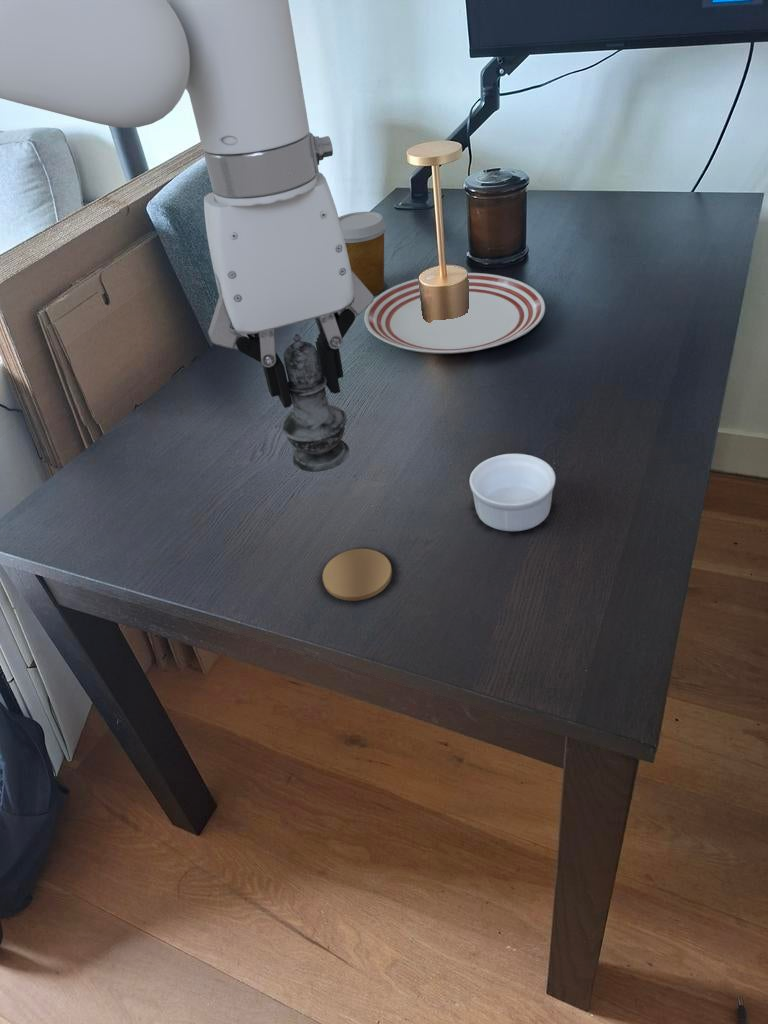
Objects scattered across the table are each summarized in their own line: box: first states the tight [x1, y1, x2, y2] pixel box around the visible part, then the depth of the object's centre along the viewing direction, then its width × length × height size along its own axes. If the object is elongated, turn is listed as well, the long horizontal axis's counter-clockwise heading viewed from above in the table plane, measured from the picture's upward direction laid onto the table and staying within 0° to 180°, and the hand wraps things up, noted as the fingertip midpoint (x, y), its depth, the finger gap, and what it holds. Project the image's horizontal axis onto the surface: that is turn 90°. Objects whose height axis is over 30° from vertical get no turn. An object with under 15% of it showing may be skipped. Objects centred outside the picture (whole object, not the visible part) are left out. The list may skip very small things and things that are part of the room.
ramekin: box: [469, 453, 557, 532], centre depth 80 cm, size 9×9×4 cm
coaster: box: [322, 548, 393, 602], centre depth 76 cm, size 7×7×1 cm
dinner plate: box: [363, 272, 546, 355], centre depth 117 cm, size 28×27×3 cm
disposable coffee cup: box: [338, 211, 387, 296], centre depth 129 cm, size 10×10×12 cm
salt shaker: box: [280, 333, 350, 473], centre depth 66 cm, size 6×6×12 cm
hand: (307, 391), depth 65 cm, fingers closed on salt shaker, 3 cm apart
